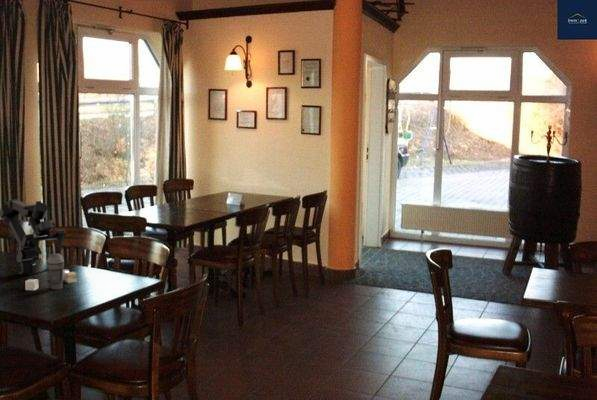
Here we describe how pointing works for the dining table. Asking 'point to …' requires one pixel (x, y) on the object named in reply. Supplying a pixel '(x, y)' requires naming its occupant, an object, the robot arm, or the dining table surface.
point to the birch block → (70, 277)
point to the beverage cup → (55, 269)
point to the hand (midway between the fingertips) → (51, 252)
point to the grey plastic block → (31, 284)
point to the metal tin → (64, 272)
